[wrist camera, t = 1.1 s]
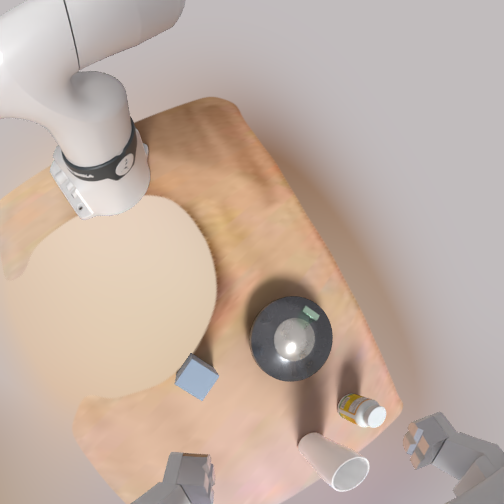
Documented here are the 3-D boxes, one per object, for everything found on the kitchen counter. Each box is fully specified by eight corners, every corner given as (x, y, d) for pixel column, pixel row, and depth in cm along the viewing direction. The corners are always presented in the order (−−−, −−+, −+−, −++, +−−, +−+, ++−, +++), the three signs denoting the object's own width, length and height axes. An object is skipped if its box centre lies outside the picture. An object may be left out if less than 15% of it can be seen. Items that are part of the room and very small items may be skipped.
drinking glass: (305, 423, 44) (347, 452, 30) (332, 433, 44) (377, 459, 30) (286, 452, 41) (322, 489, 27) (314, 461, 42) (354, 494, 28)
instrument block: (176, 373, 41) (174, 383, 34) (190, 352, 43) (192, 358, 35) (199, 388, 42) (202, 401, 34) (213, 367, 43) (219, 376, 36)
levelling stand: (230, 351, 44) (235, 354, 40) (274, 283, 49) (283, 278, 45) (296, 390, 45) (307, 396, 41) (334, 324, 50) (347, 324, 45)
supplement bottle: (336, 396, 46) (365, 407, 37) (359, 390, 48) (389, 398, 38) (336, 421, 45) (364, 435, 36) (359, 414, 46) (388, 425, 37)
